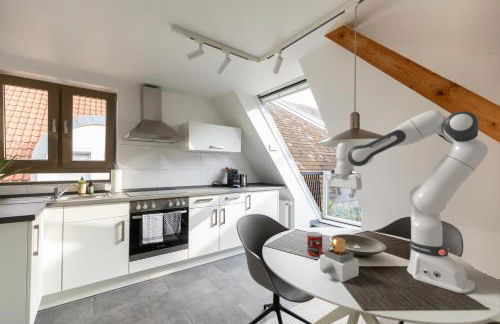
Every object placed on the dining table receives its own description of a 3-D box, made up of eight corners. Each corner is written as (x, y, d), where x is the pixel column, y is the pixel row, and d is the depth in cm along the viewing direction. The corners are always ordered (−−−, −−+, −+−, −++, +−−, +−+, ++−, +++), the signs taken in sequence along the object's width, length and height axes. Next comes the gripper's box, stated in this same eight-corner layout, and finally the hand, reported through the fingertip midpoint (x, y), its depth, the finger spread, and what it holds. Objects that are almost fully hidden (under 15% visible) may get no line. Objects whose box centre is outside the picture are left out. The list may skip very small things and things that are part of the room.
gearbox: (358, 275, 102) (358, 253, 102) (335, 284, 94) (335, 261, 94) (335, 264, 112) (335, 245, 112) (313, 272, 104) (313, 251, 104)
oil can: (339, 254, 107) (339, 236, 107) (347, 258, 102) (347, 240, 102) (325, 256, 105) (325, 238, 105) (333, 261, 100) (333, 242, 100)
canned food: (304, 254, 125) (304, 233, 125) (312, 249, 131) (311, 230, 131) (318, 258, 120) (317, 237, 120) (324, 253, 126) (324, 233, 126)
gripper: (364, 171, 118) (365, 198, 118) (336, 170, 137) (336, 193, 137) (355, 172, 115) (355, 199, 115) (328, 170, 135) (328, 194, 135)
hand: (345, 196), depth 126 cm, fingers open, 8 cm apart
